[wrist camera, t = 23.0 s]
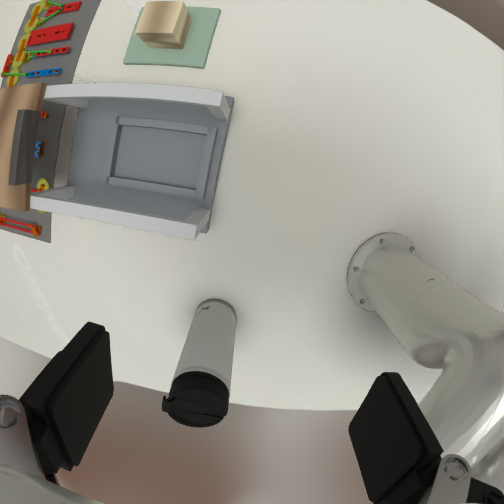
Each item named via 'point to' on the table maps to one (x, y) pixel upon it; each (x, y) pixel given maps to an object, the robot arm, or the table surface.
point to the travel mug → (204, 368)
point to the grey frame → (141, 156)
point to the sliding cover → (18, 142)
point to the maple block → (164, 24)
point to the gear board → (52, 73)
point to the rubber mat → (188, 57)
